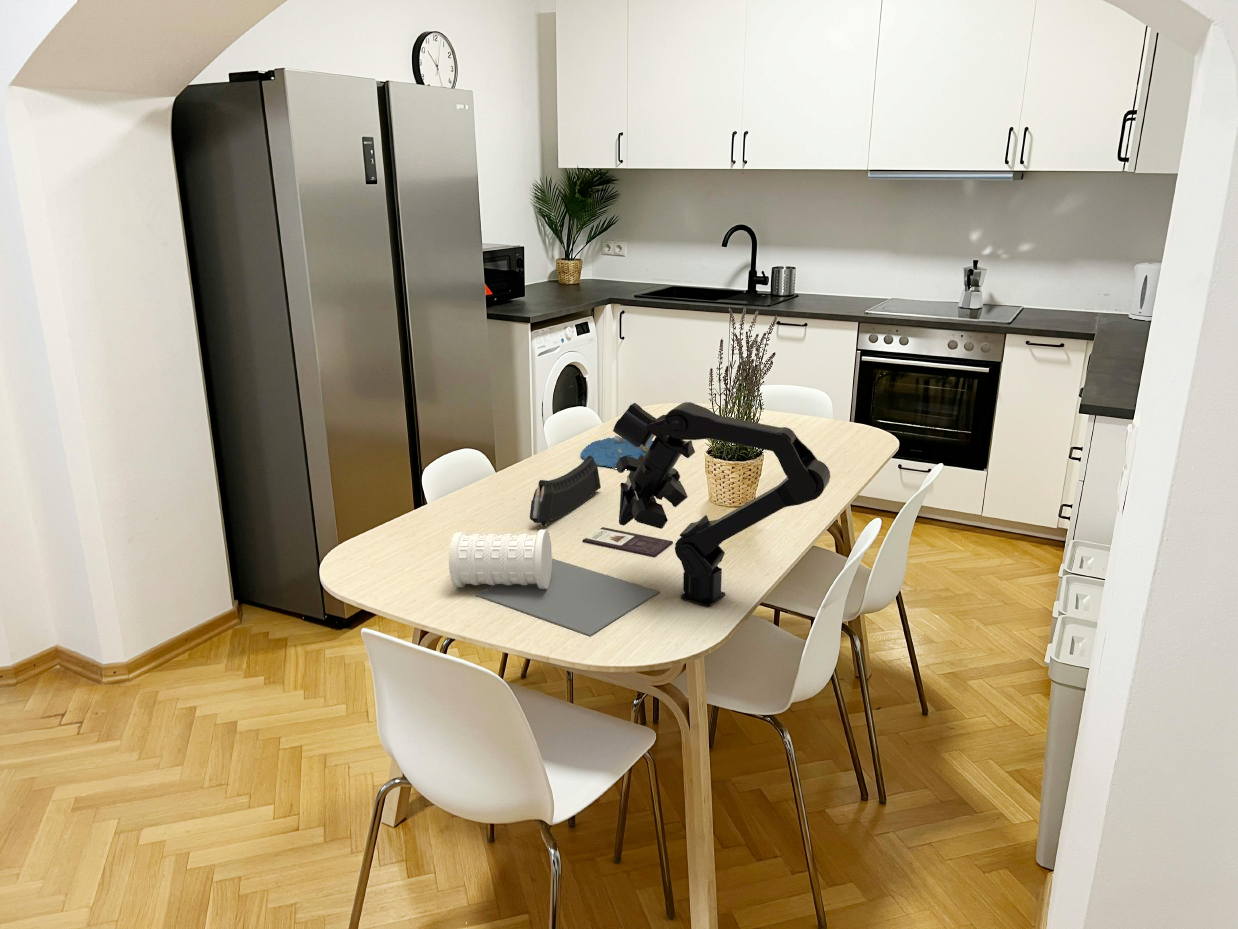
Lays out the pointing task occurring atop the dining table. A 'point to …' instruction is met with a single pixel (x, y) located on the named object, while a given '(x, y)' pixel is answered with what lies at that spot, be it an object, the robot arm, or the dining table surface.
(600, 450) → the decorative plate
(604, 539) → the chocolate bar
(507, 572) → the decorative container
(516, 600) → the rubber mat
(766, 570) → the dining table surface
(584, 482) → the magazine
